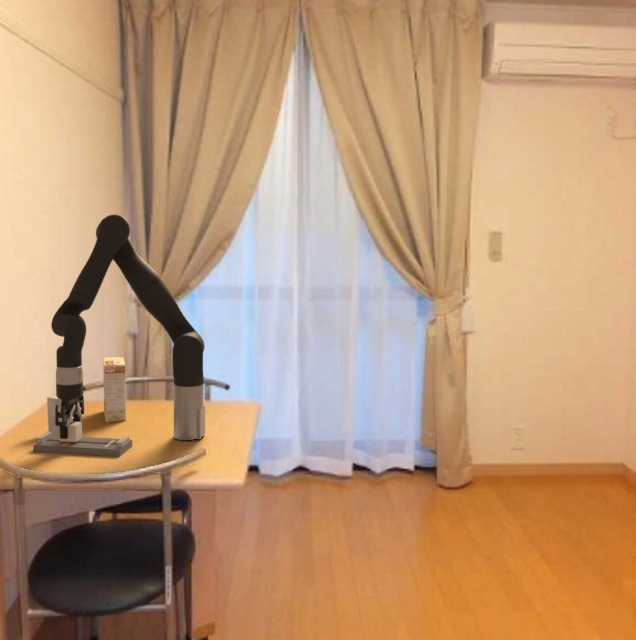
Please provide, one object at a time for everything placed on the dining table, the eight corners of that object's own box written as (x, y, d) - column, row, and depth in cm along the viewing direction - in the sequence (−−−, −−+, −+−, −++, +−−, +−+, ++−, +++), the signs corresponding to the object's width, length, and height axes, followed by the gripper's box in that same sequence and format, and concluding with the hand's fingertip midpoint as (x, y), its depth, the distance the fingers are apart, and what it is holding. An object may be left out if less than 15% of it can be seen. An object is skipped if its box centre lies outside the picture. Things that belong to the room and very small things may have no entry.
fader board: (132, 445, 213) (132, 434, 213) (120, 456, 203) (119, 444, 203) (49, 441, 215) (49, 430, 215) (33, 451, 206) (33, 439, 205)
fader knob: (81, 438, 211) (81, 421, 210) (76, 442, 207) (75, 425, 206) (65, 437, 212) (65, 420, 211) (59, 441, 208) (59, 424, 207)
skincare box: (63, 429, 228) (62, 393, 227) (72, 431, 226) (71, 395, 224) (47, 434, 223) (46, 396, 221) (56, 436, 221) (55, 398, 219)
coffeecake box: (103, 410, 252) (103, 357, 250) (124, 409, 254) (123, 356, 252) (104, 422, 238) (103, 365, 236) (126, 420, 240) (125, 364, 238)
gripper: (71, 386, 200) (72, 442, 202) (91, 376, 214) (92, 428, 216) (45, 385, 200) (47, 440, 202) (68, 375, 214) (69, 427, 217)
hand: (70, 434), depth 209 cm, fingers open, 8 cm apart
